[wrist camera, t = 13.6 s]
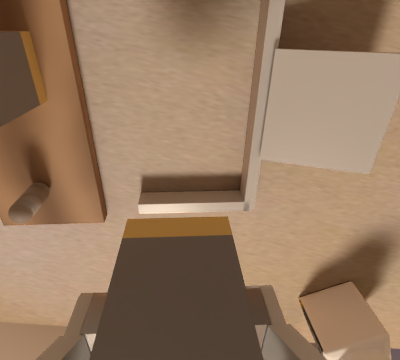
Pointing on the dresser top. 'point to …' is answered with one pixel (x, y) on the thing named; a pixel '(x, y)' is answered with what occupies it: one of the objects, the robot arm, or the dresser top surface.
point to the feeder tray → (302, 115)
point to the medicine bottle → (345, 324)
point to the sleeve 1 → (18, 76)
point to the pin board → (49, 130)
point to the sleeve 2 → (177, 295)
